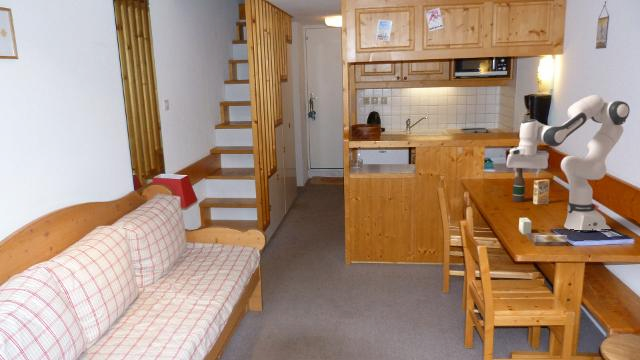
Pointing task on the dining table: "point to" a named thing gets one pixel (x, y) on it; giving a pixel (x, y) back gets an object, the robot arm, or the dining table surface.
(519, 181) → the beer bottle
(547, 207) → the dining table surface
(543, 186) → the candy box
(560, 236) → the shelf
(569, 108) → the robot arm
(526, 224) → the carton
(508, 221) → the dining table surface
